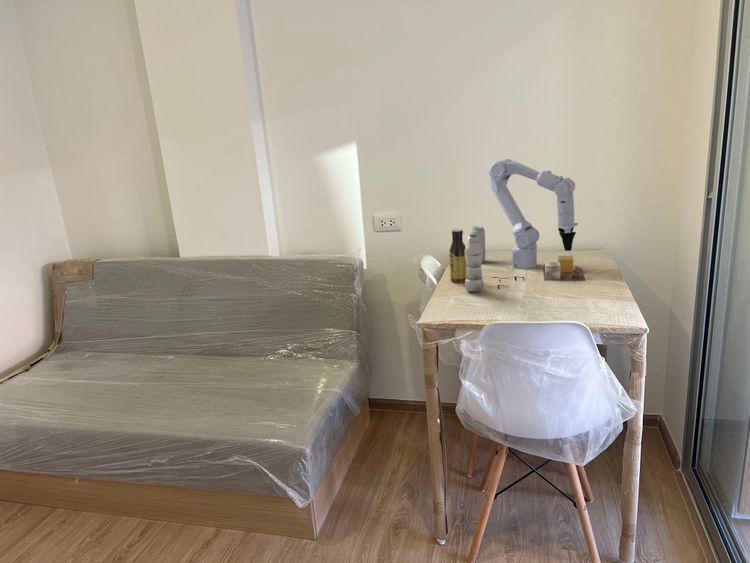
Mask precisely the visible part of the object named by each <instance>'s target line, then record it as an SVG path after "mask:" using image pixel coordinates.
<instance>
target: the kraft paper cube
mask: <svg viewBox="0 0 750 563" xmlns="http://www.w3.org/2000/svg"><path fill="white" fill-rule="evenodd" d="M557 258H558V261H557V262H560V272H573V266H574V257H573V255H558V257H557Z"/></svg>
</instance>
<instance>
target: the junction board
mask: <svg viewBox="0 0 750 563" xmlns="http://www.w3.org/2000/svg"><path fill="white" fill-rule="evenodd" d="M542 271H543V280H544V281H550V282H551V281H552V282H554V281H555V282H556V281H557V282H565V281H566V282H586V278H585V274H584V272H583V268H581V267H580V266H579V265H573V272H560V262H558V261H557V262H556V261H555V262H554V261H552V262H551V261H549V262H547V261H546V262H545V266H544V267H543V268H542Z"/></svg>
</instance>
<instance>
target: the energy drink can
mask: <svg viewBox="0 0 750 563" xmlns="http://www.w3.org/2000/svg"><path fill="white" fill-rule="evenodd" d="M469 233H470V234H469V236H470V235H478V239H479V241H478V243H479V244H480V246H481V247H482V250H483V254H482V263H484V262H485V261H486V230H485V228H484V226H483V225H473V226H471V229H470V231H469Z"/></svg>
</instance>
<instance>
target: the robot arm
mask: <svg viewBox="0 0 750 563" xmlns="http://www.w3.org/2000/svg"><path fill="white" fill-rule="evenodd" d="M488 175H489V176H490V178H489V179H490V187H491V191H492V192H493V194H494V195H495V198H496V199H497V201H498V203H499V204H500V207H501V208H502V210H503V211H504V214H505V215H506V216H507V218H508V220H509V222H510V224H511V226H512V227H513V229H512V230H513V232H512V234H513V236H514V241H515V244H516V245H517V246H513V247H512V260H511V265H512V269H524V270H525V269H527V270H528V269H530V270H531V269H534V268H537V265H538V264H537V261H538V260H537V259H538V257H537V254H538V252H537V250H538V248H537V247H538V244H537V242H538V241H539V239H540V232H539V230H537V229H536V228H535V227H534V226H533V225H532V223H531V222H529V221H528V220H526V218H525V216H524V214H523V213H522V211H521V209H520V207H519V206H518V203H517V202H516V200H515V199H514V197H513V195H512V194H511V191H510V190H509V188H508V187H507V185H508V181H509V179H510V178H511V176H512V175H513V176H514V175H519V176H522V177H524V178H527V179H531V180H533V181H535V182H536V184H537V186H539V187H541V188H544V189H545V190H548V191H550V192H553V193H554V194H555V195H556V200H557V201H556V202H557V204H556V206H557V230H558V232H559V236H560V237H561V241H562V245H563V250H564V251H565V252H570V251H572V249H573V248H572V247H573V242H574V238H575V236H576V233H577V232H576V231H574V228H575V227H576V226H578V225H579V223H578V222H575V202H574V191H575V190H576V183H575V181H574V180H573V179H571V178H570V177H566V178H564V176H563V175H560V176H559V175H557V174H554V173H552V171H551V170H549V169H548V170H543V171H541V172H540V171H538V170H535V169H533V168H531V167H528V166H527V165H525V164H523V163H520V162H518V161H516V160H512V159H510V158H505V159H502V160H498V161H494V162H493V163H492V164H491V165H490V167H489V171H488Z"/></svg>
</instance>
